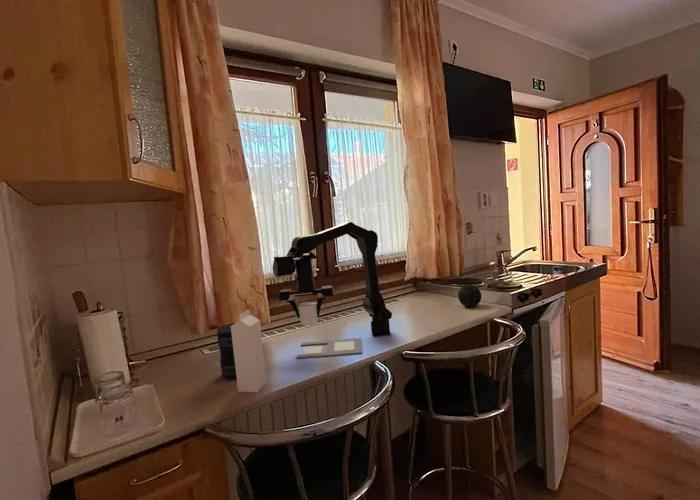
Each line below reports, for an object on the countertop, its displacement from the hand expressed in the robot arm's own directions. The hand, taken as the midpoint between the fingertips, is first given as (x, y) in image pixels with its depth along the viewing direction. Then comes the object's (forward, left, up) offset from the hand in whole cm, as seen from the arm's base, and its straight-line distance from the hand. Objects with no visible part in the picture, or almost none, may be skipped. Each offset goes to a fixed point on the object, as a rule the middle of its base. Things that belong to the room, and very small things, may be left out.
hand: (308, 317), depth 144 cm
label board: (-6, 0, -12) cm, 14 cm away
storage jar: (+22, +17, -12) cm, 30 cm away
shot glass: (0, 0, -2) cm, 2 cm away
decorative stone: (-67, -40, -12) cm, 80 cm away
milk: (+15, +28, -12) cm, 33 cm away
